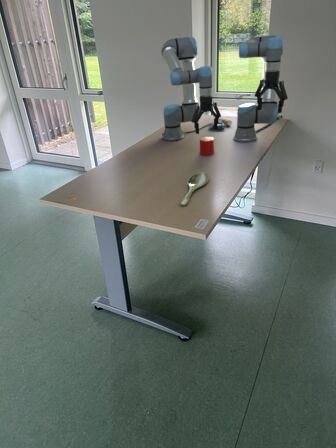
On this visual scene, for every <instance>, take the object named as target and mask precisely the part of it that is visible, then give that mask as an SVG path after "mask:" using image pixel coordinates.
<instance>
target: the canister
mask: <svg viewBox="0 0 336 448" xmlns="http://www.w3.org/2000/svg"><path fill="white" fill-rule="evenodd" d="M199 154H200V156H203V157H210V156H214V155H215V138H214V137H212V136H203V137H201V138H199Z"/></svg>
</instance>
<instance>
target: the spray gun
mask: <svg viewBox="0 0 336 448" xmlns="http://www.w3.org/2000/svg"><path fill="white" fill-rule="evenodd" d="M209 124H210V123H209ZM232 124H233V122H232V120H229V119H227V118H226V119H224V118H219V119H218V124H217V131H218V130H224V129H225V128H226V126H227V127H231V126H232ZM209 129H212V130H213V129H214V121H212V122H211V124H210V125H209Z"/></svg>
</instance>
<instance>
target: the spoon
mask: <svg viewBox="0 0 336 448" xmlns="http://www.w3.org/2000/svg"><path fill="white" fill-rule="evenodd" d="M209 180H210V176H209V174H208V173H206V172H203V171H200V172H199V171H198V172H195V173H194V174H192V175H191V176H189V178H188V180H187V185H188V187H189V188H188V189H189V190H188V192H187V193H186V195H185V196H184V197H183V198H182V200H181V202H180V206H183V207H185V206H187V205H188V203H189V201H190V199H191V197H192V195H193V193H194V191H196V190H197V189H199V188H201V187H203V186H205V185H206V184H207V183H208V182H209Z"/></svg>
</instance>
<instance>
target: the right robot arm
mask: <svg viewBox="0 0 336 448" xmlns="http://www.w3.org/2000/svg"><path fill="white" fill-rule="evenodd" d="M283 54H284V42H283V37H282V36H281V35H279V34H277V35H275V34H273V35H262V36H261V35H260V36H253V37H251V38H249V39H247V40H246V41H244V42H241V43H239V45H238V58H239V59H252V58H261V62H262V63H263V65H262V66H263V67H262V79H260V80H259V84H258V87H257V88H256V91H255V93H254V98H256V103H255V102H248V103H247V102H246V103H243V104H241V105H238V107H237V112H236V115H237V117H236V119H237V120H236V130H235V133H234V135H233V140H234V141H236V142H240V143H249V142H254V141H256V140H257V132H259V131H261V130H263V129H265V128H267V127H268V126H270V125H271V124H275V123H276V122H277V120H278V119H279V118H280V117H281V118H283V116H282V115H281V116H280V115H279V114H281V113H283V107H285V101H286V100H288V99H289V98H288V94H287V90H286V86H285V81H284V80H279V79H280V76H281V75H280V74H281V71H280V70H281V62H282V56H283ZM276 95H277V98H278V99H279V100H278V101H277V100H276ZM257 124H260V125H261V124H266V125H265V126H263V127H261V128H259V129H257V130H256V129H255V125H257Z"/></svg>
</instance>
